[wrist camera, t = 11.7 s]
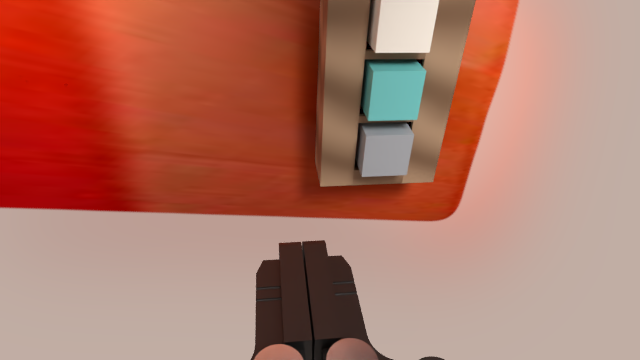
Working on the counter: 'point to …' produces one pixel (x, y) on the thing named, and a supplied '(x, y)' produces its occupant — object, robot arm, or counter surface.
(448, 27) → the frame
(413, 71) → the teal key
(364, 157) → the grey key
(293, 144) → the counter surface
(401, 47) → the ivory key
